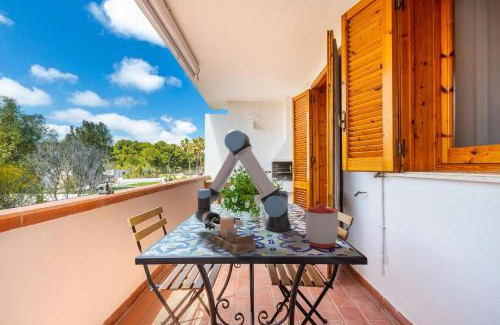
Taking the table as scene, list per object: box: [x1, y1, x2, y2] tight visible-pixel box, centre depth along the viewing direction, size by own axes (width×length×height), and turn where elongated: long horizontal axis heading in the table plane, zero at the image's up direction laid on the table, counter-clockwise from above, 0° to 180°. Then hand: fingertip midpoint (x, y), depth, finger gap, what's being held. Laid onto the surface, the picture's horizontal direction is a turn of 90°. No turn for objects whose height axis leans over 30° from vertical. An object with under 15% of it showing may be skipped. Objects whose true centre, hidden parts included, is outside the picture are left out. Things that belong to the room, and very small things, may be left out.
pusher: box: [225, 226, 238, 243], centre depth 124 cm, size 1×6×7 cm, turn 125°
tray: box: [211, 233, 257, 255], centre depth 123 cm, size 22×11×7 cm, turn 35°
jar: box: [219, 214, 235, 240], centre depth 127 cm, size 7×7×12 cm
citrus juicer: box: [301, 203, 339, 249], centre depth 123 cm, size 16×17×20 cm
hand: (231, 226), depth 124 cm, fingers open, 13 cm apart
